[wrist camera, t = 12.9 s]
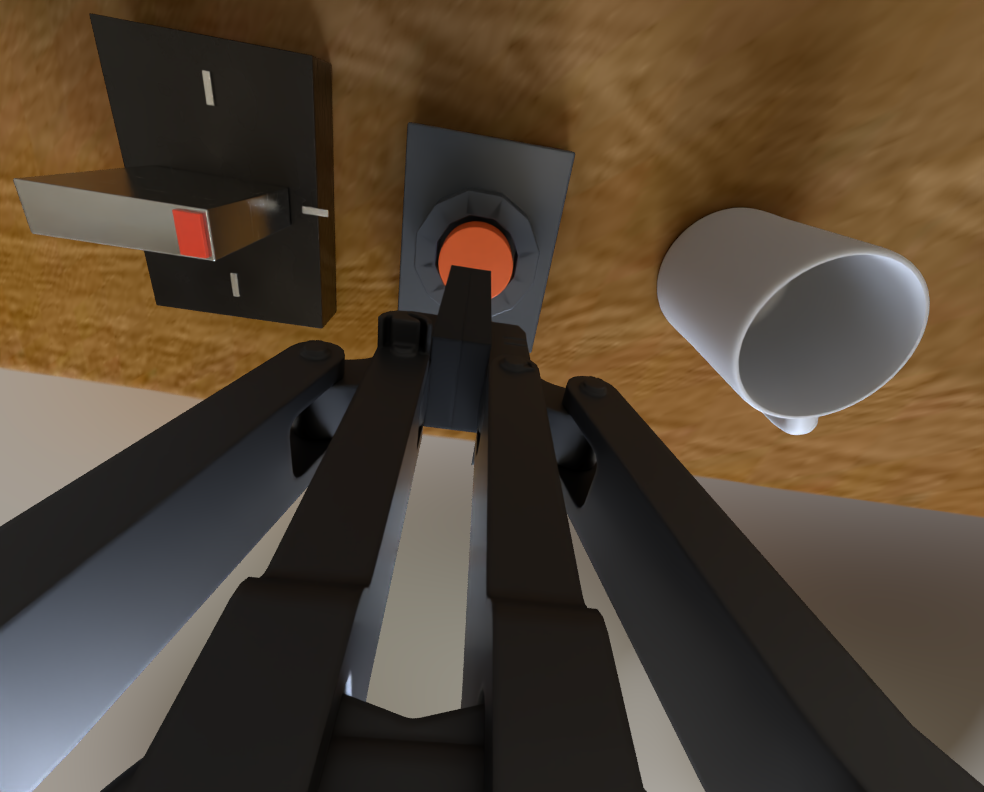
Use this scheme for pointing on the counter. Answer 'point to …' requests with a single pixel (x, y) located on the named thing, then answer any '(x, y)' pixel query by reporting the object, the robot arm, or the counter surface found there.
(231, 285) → the panel
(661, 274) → the mug
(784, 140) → the counter surface
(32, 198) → the grey metallic block
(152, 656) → the robot arm
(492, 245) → the button
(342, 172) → the counter surface
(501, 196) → the button box
